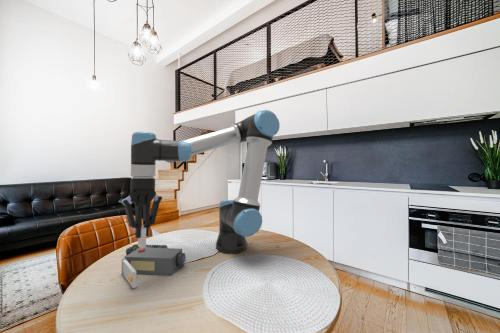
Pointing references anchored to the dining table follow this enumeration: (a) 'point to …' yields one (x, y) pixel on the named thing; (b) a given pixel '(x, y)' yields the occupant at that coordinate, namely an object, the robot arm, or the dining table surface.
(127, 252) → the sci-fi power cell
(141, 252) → the camera body
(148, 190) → the robot arm
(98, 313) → the dining table surface
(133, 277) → the side door
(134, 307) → the dining table surface
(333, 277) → the dining table surface
